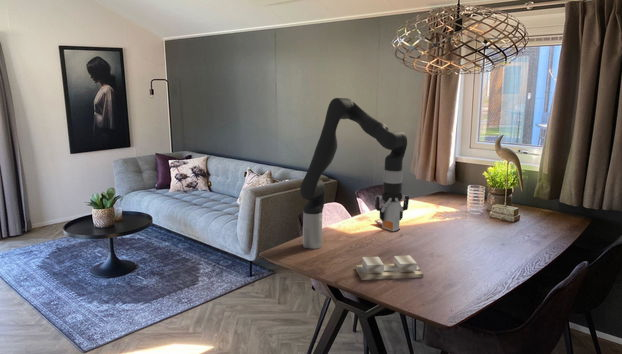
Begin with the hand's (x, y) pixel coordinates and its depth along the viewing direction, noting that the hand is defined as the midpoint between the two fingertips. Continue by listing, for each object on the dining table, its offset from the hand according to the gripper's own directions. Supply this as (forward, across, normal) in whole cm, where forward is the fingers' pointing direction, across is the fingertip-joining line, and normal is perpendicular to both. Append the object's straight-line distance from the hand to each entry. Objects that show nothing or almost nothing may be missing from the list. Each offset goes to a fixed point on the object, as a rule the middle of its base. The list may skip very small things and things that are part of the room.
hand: (390, 219), depth 193 cm
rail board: (+23, 0, 0) cm, 23 cm away
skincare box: (+4, 0, 0) cm, 4 cm away
